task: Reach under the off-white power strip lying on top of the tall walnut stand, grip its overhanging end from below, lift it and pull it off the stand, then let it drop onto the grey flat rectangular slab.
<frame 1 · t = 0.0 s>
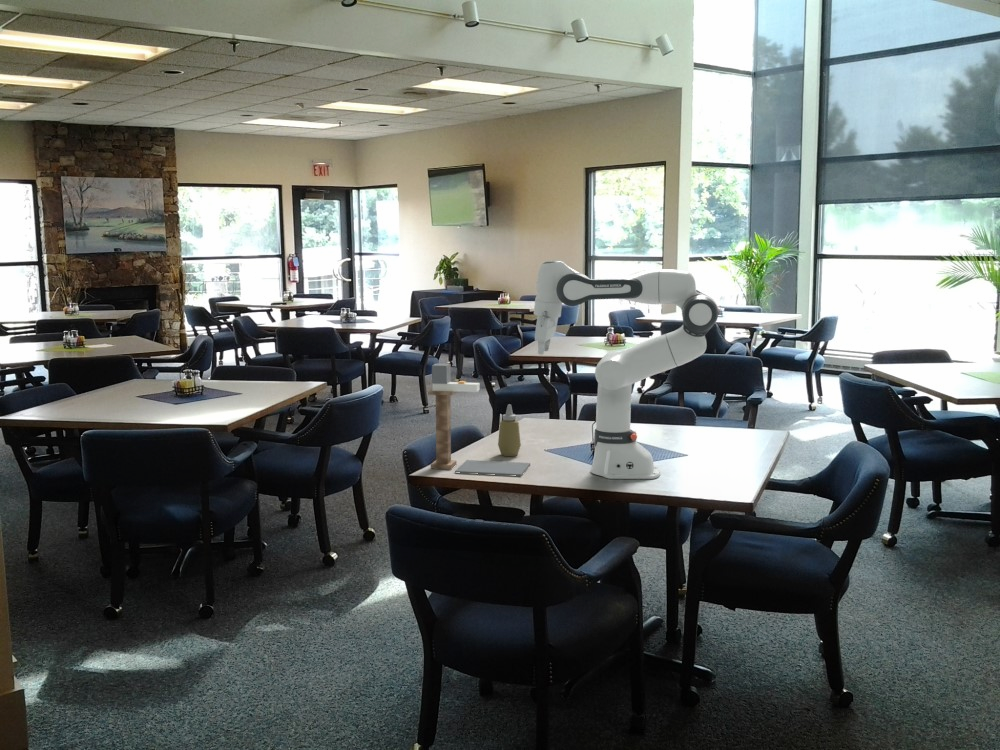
hand: (543, 352, 304), 39 cm above the table, tool pointing down, fingers open, 8 cm apart
squeeze bottle: (509, 455, 330), on the table
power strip: (456, 390, 308), point 26 cm above the table, touching walnut stand
walnut stand: (443, 466, 312), on the table
grey flat rectangular slab: (493, 469, 309), on the table
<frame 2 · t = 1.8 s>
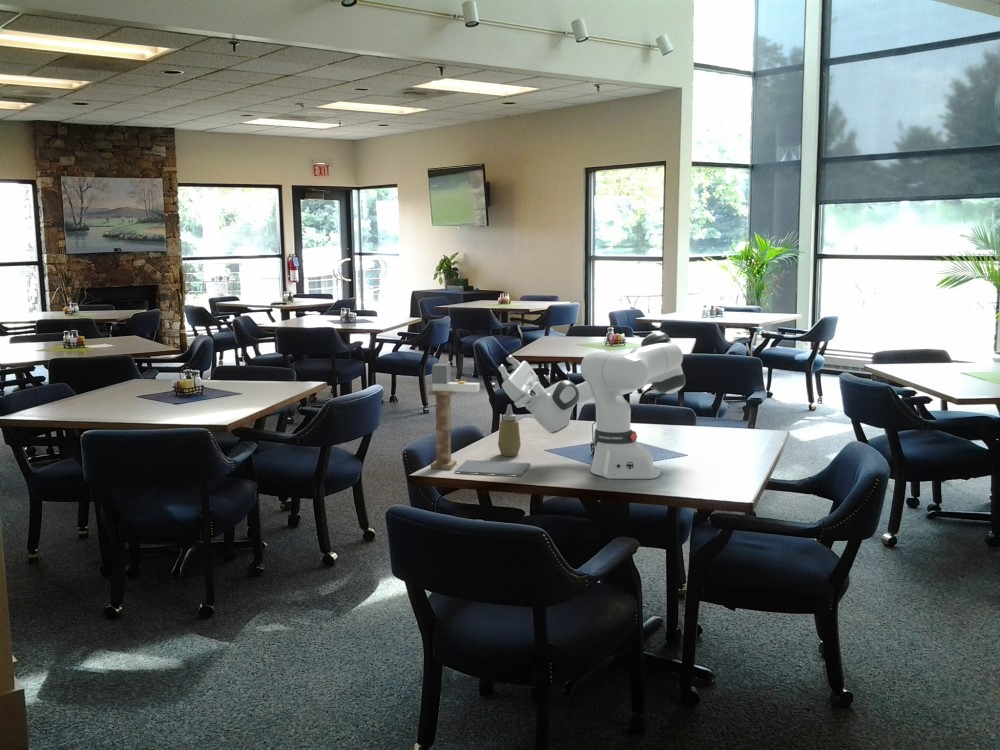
hand: (504, 361, 308), 36 cm above the table, tool pointing upward, fingers open, 8 cm apart
nothing on the table moved.
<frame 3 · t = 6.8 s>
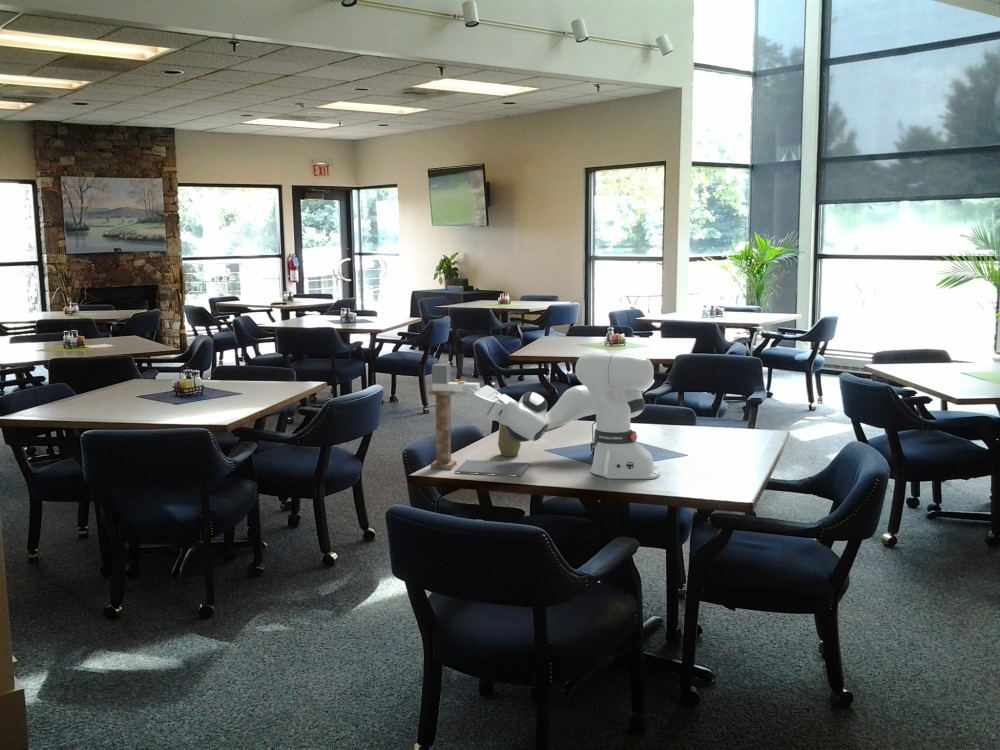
hand: (465, 385, 307), 28 cm above the table, tool pointing upward, fingers closed on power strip, 4 cm apart
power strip: (456, 390, 308), point 26 cm above the table, touching gripper, walnut stand
everything else where it was.
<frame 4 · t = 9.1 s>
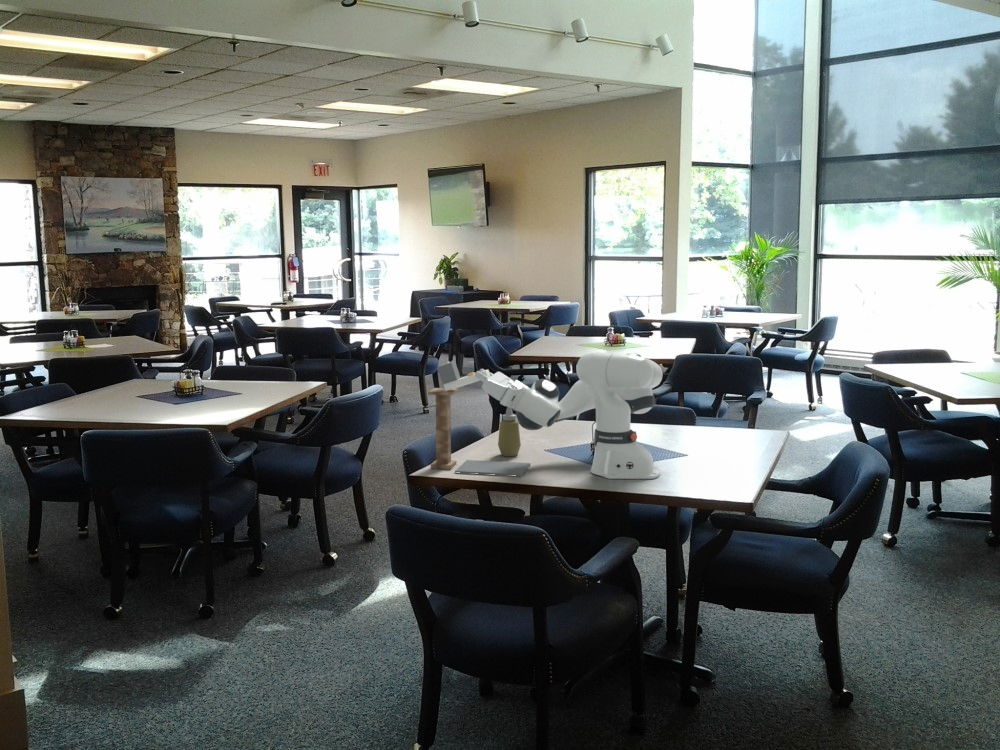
hand: (477, 371, 305), 33 cm above the table, tool pointing upward, fingers closed on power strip, 4 cm apart
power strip: (468, 383, 306), point 28 cm above the table, tilted 19°, touching gripper
everything else where it was.
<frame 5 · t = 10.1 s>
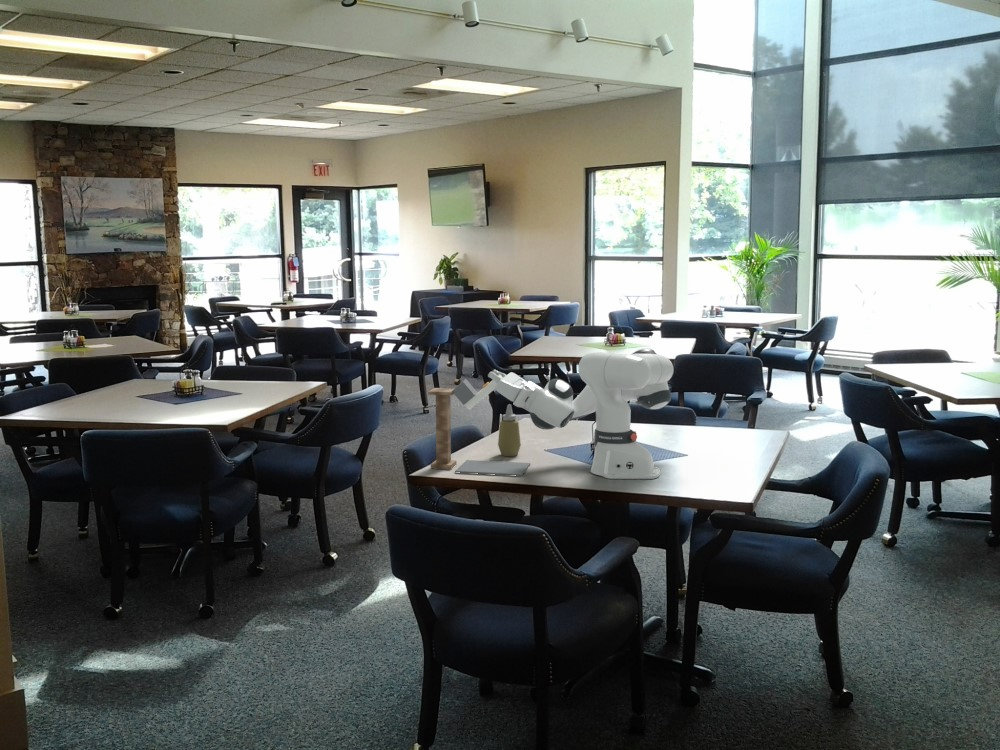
hand: (490, 372, 304), 32 cm above the table, tool pointing upward, fingers open, 3 cm apart
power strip: (486, 395, 306), point 25 cm above the table, tilted 41°, touching gripper, walnut stand
everything else where it was.
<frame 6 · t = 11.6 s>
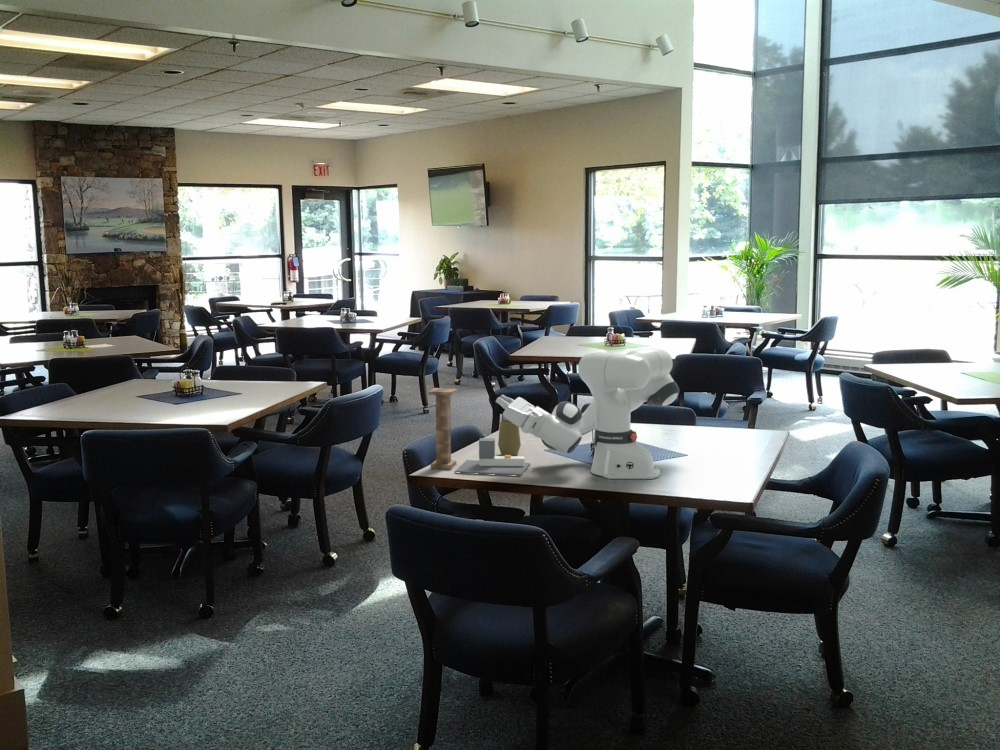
hand: (498, 397, 305), 24 cm above the table, tool pointing upward, fingers open, 3 cm apart
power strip: (502, 464, 311), point 1 cm above the table, touching grey flat rectangular slab
everything else where it was.
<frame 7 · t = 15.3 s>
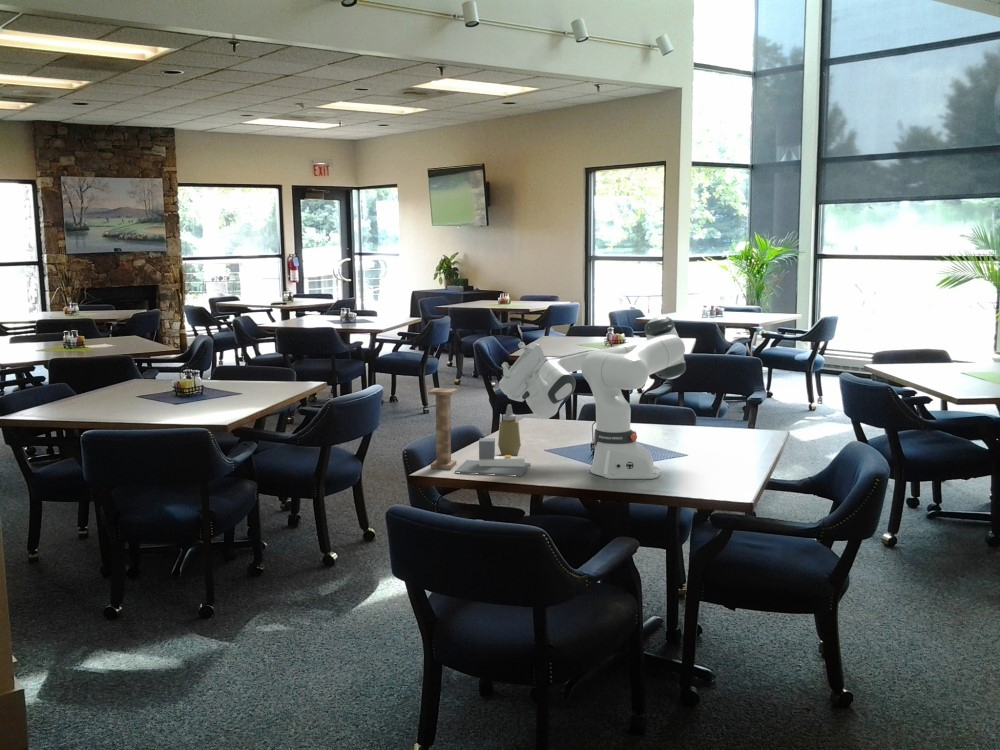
hand: (512, 353, 305), 38 cm above the table, tool pointing upward, fingers open, 8 cm apart
nothing on the table moved.
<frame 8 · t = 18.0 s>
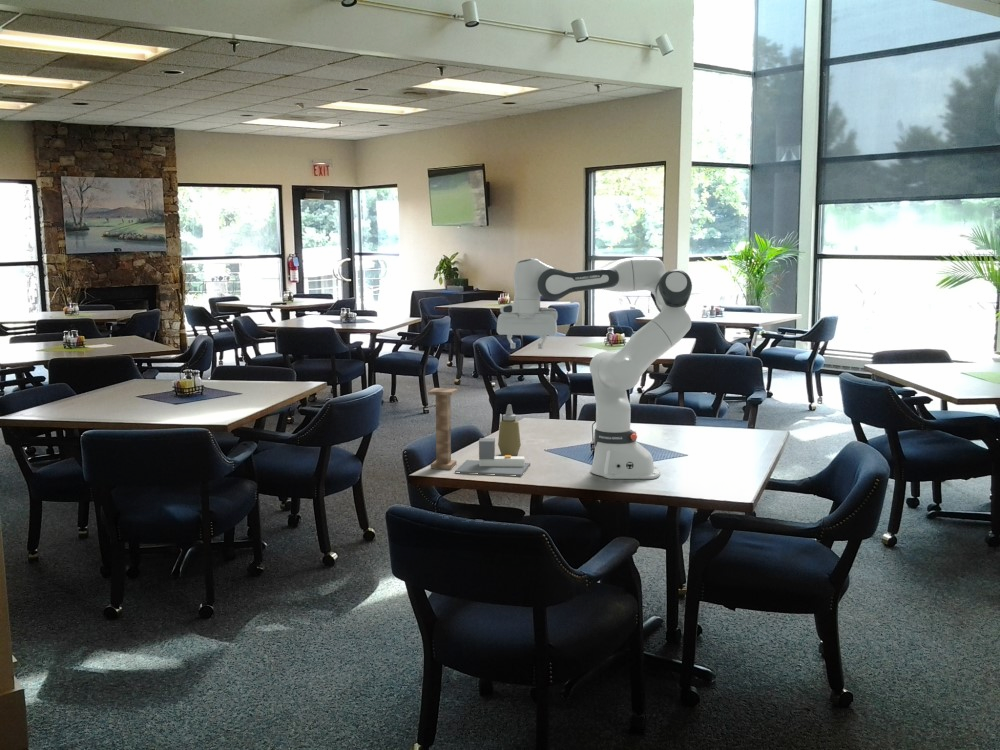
hand: (526, 348, 313), 39 cm above the table, tool pointing down, fingers open, 8 cm apart
nothing on the table moved.
at the end: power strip inside the target area on the grey flat rectangular slab (4.1 cm from its centre), point 0.8 cm above the grey flat rectangular slab's base; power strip point 0.8 cm above the table; the gripper is holding nothing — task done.
